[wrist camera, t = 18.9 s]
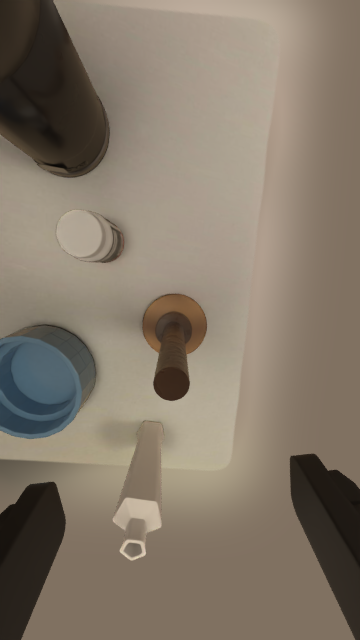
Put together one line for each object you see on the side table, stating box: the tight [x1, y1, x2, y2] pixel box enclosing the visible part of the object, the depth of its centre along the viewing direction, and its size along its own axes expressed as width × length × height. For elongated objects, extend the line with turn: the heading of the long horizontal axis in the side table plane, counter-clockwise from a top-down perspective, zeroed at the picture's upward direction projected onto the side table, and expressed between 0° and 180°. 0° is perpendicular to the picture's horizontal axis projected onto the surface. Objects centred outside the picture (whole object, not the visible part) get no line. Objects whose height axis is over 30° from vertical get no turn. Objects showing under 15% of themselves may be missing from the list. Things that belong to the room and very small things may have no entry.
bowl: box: [0, 325, 96, 439], centre depth 31 cm, size 12×12×6 cm
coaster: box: [143, 294, 207, 355], centre depth 32 cm, size 8×8×1 cm
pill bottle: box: [56, 210, 124, 263], centre depth 26 cm, size 5×5×8 cm
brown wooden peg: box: [153, 311, 192, 401], centre depth 24 cm, size 4×4×15 cm
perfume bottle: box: [113, 421, 164, 560], centre depth 28 cm, size 5×4×15 cm
